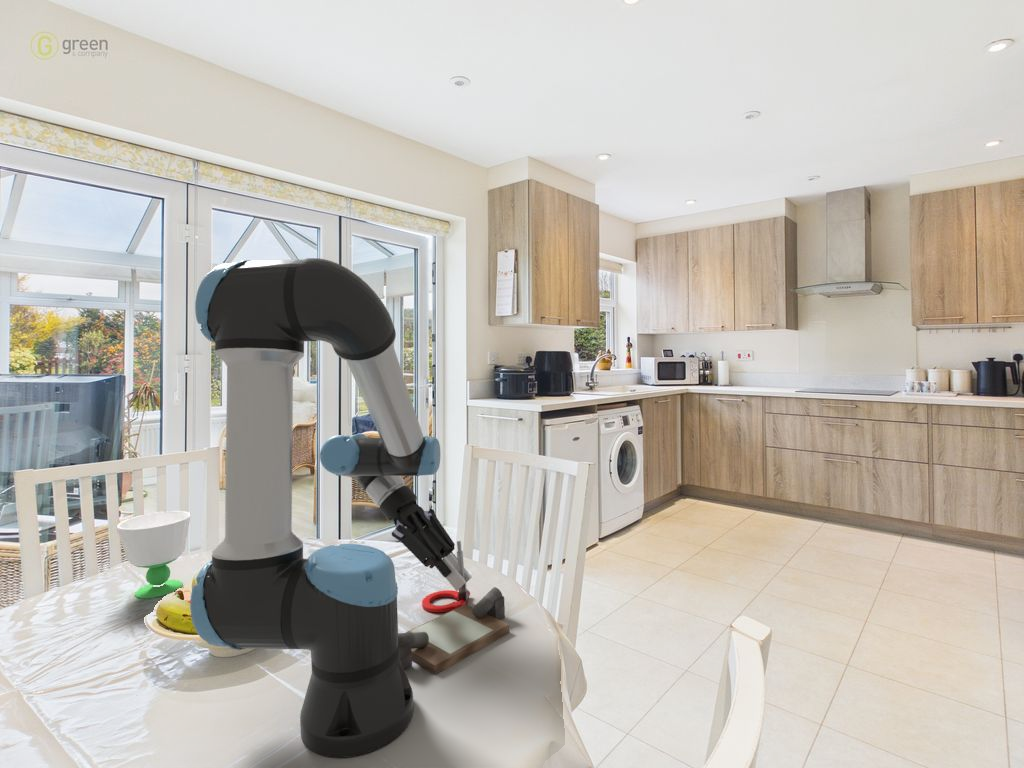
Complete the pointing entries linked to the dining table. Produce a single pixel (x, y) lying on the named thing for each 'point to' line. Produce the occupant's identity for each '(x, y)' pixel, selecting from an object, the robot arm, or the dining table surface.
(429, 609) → the tow hook
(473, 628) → the shaft stand
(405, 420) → the robot arm
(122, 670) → the dining table surface
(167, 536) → the cup
